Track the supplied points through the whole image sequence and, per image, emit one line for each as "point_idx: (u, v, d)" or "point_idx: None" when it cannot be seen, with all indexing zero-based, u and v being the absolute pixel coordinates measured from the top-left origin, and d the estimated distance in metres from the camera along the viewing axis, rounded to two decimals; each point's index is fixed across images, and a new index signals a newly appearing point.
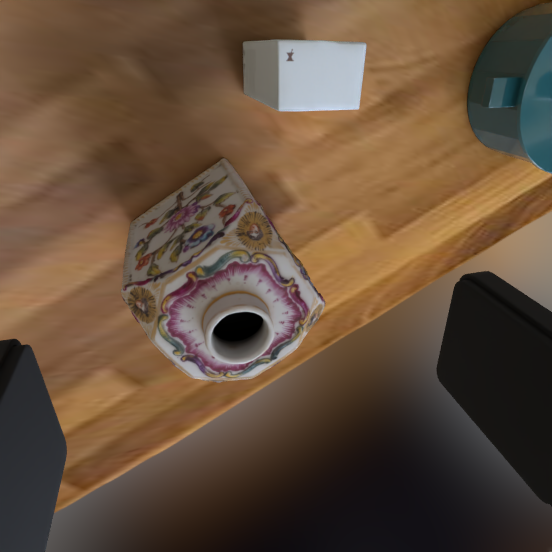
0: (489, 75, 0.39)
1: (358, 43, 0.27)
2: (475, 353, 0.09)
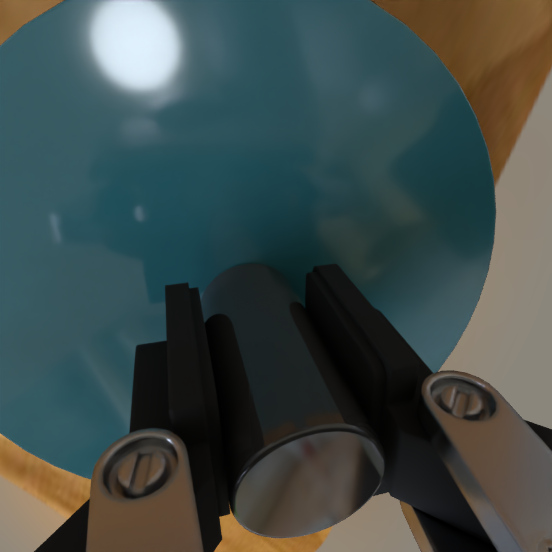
0: None
1: None
2: None
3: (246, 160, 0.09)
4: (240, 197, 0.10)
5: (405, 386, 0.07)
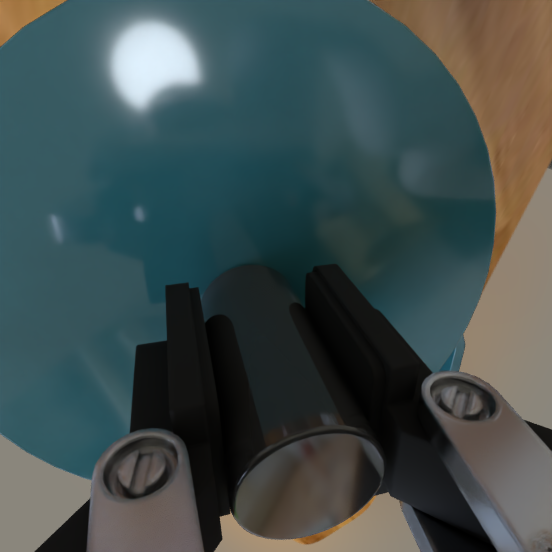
0: None
1: None
2: None
3: (246, 161, 0.09)
4: (240, 198, 0.10)
5: (404, 386, 0.07)
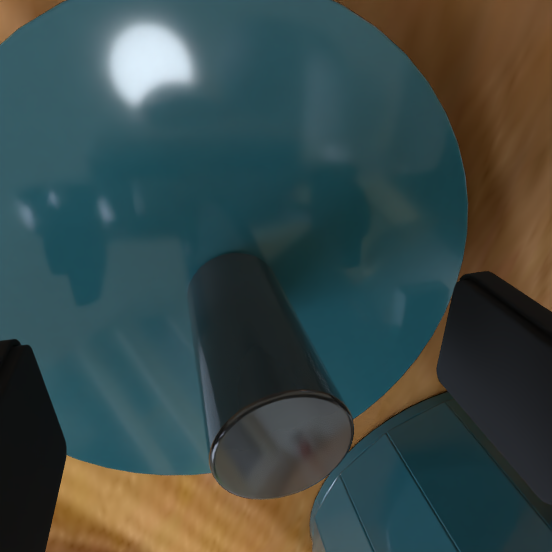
0: None
1: None
2: (475, 353, 0.09)
3: (229, 154, 0.10)
4: (224, 189, 0.10)
5: None
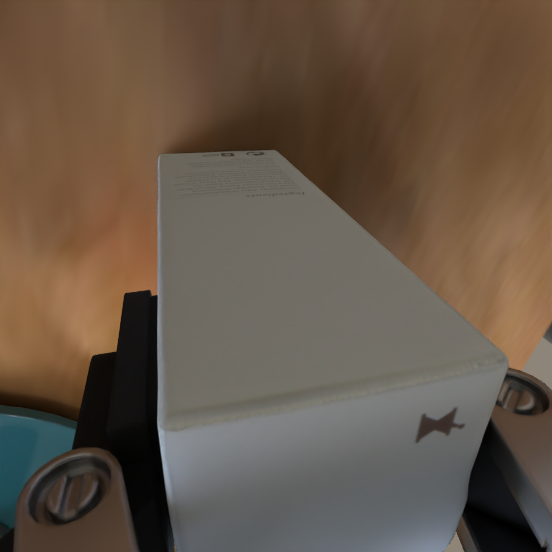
0: None
1: None
2: None
3: None
4: None
5: None
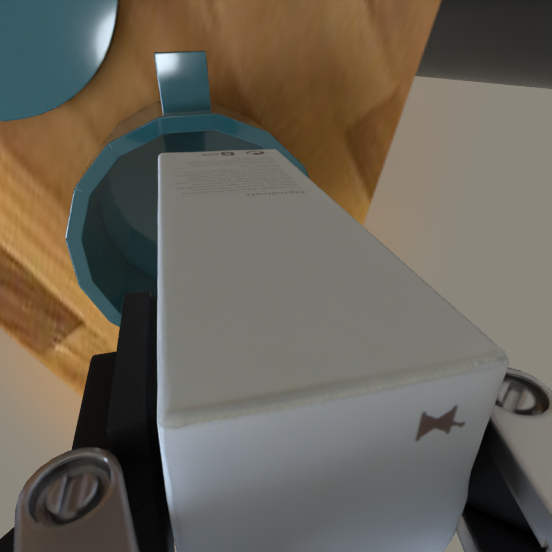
0: None
1: None
2: None
3: None
4: None
5: None
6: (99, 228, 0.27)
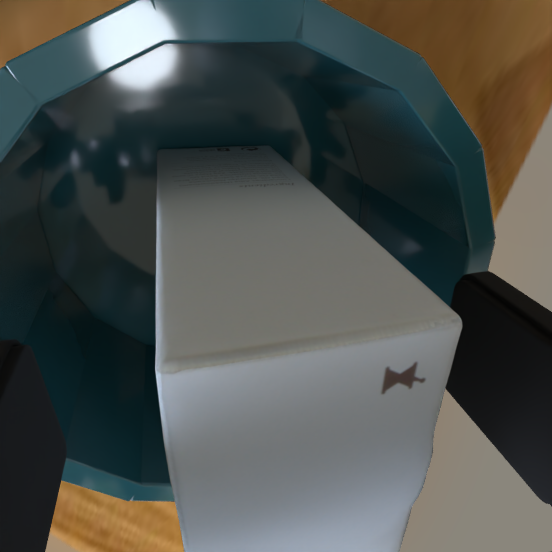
0: None
1: (399, 548, 0.08)
2: (475, 353, 0.09)
3: None
4: None
5: None
6: (35, 266, 0.14)
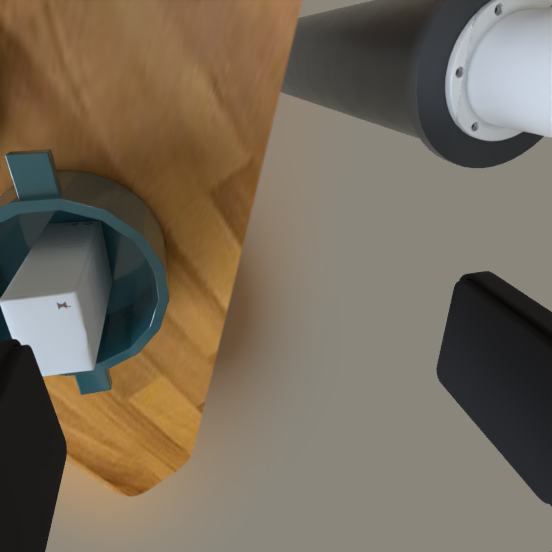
0: (69, 178, 0.30)
1: (92, 363, 0.27)
2: (475, 353, 0.09)
3: None
4: None
5: None
6: None
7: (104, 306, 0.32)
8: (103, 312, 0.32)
